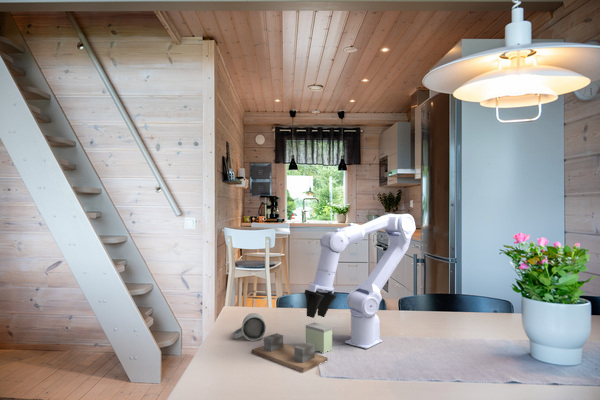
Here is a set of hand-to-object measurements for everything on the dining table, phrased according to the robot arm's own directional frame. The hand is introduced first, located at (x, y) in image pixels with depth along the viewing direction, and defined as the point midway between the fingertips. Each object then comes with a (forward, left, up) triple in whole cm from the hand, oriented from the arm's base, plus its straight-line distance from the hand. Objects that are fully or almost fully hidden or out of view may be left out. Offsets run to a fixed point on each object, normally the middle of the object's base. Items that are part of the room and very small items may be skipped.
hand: (315, 316), depth 114 cm
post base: (+9, -2, -10) cm, 14 cm away
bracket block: (-2, 0, -10) cm, 10 cm away
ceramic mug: (+5, -24, -10) cm, 26 cm away
